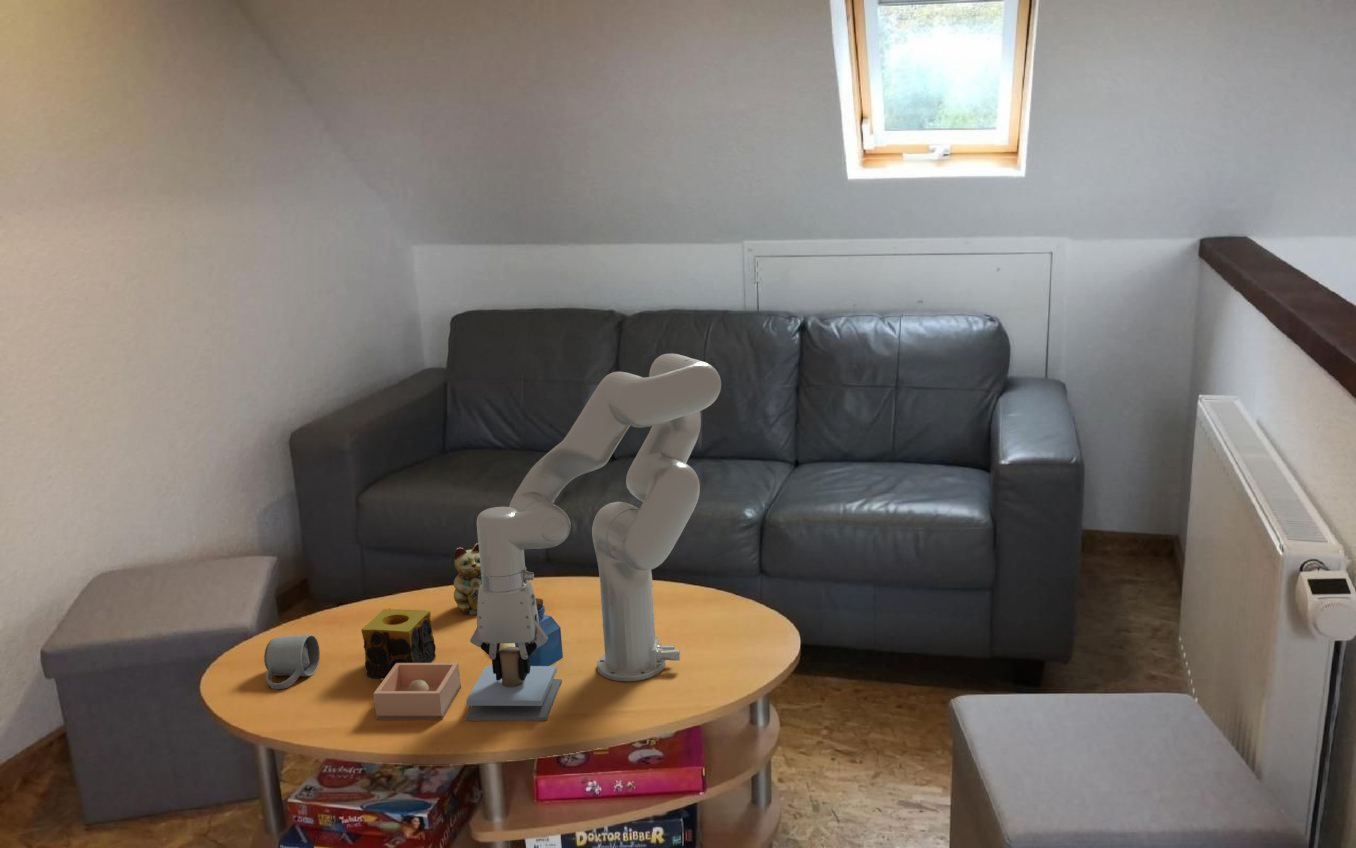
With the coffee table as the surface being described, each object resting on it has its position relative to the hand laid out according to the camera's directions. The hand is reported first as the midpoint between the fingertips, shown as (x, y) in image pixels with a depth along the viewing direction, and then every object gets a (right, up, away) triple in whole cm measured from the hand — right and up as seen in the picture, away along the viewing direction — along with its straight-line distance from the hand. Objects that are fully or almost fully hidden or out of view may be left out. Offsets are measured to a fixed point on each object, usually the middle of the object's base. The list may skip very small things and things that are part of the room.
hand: (512, 676), depth 197 cm
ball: (-17, -3, +1) cm, 17 cm away
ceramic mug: (-44, -4, +15) cm, 46 cm away
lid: (0, -2, 0) cm, 2 cm away
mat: (0, -5, +1) cm, 5 cm away
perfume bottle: (+3, -1, +17) cm, 17 cm away
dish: (-17, -5, +2) cm, 18 cm away
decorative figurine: (-14, +5, +43) cm, 45 cm away
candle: (-23, -2, +16) cm, 29 cm away
